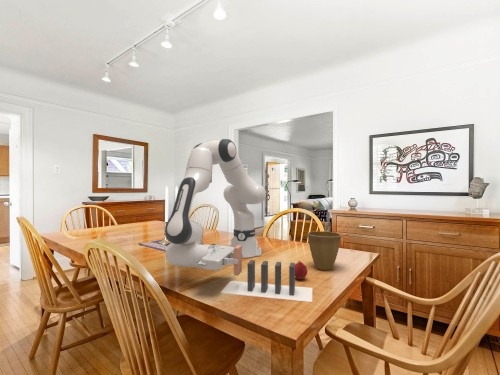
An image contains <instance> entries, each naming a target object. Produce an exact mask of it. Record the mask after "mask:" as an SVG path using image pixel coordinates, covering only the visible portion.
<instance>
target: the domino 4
mask: <svg viewBox="0 0 500 375" xmlns="http://www.w3.org/2000/svg"><path fill="white" fill-rule="evenodd" d="M295 264H296V263H295V262H289V267H288V279H289V280H288V283H289V284H288V286H289V295H292V296H294V292H295V286H296V277H295Z"/></svg>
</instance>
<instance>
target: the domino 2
mask: <svg viewBox="0 0 500 375" xmlns="http://www.w3.org/2000/svg"><path fill="white" fill-rule="evenodd" d="M260 271H261V272H260V283H261V293H266V291H267V289H268V284H269V261H268V260H263V261H262V263H261V264H260Z"/></svg>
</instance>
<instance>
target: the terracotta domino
mask: <svg viewBox="0 0 500 375" xmlns="http://www.w3.org/2000/svg"><path fill="white" fill-rule="evenodd" d="M234 258H238V263H237V264H233V276H239V275H240V274H241V273H242V272H243V270H242V269H243V267H242V266H243V258H242V245H237V246H236V247H235V248H234Z"/></svg>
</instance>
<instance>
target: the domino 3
mask: <svg viewBox="0 0 500 375" xmlns="http://www.w3.org/2000/svg"><path fill="white" fill-rule="evenodd" d="M274 285H275V294H280V291H281V285H282V261H276V263H275V266H274Z"/></svg>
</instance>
